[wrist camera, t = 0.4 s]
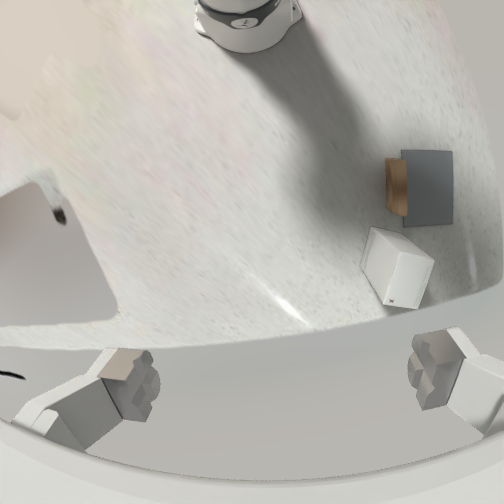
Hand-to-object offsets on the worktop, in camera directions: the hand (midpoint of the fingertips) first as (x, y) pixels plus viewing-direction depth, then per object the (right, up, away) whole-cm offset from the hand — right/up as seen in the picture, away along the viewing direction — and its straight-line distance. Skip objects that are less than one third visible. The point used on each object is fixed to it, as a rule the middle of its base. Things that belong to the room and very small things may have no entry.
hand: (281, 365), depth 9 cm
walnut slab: (+23, +15, +41) cm, 49 cm away
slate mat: (+32, +15, +40) cm, 53 cm away
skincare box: (+23, +4, +45) cm, 50 cm away
